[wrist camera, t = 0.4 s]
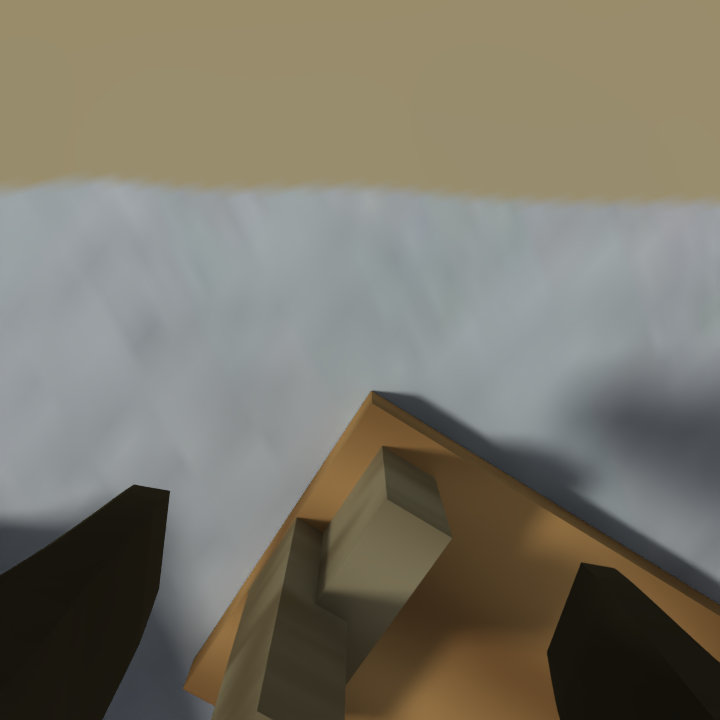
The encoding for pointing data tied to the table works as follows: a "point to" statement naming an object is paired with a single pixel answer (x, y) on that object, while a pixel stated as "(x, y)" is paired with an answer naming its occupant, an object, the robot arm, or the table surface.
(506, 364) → the table surface
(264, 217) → the table surface
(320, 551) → the press
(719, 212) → the table surface
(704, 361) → the table surface
